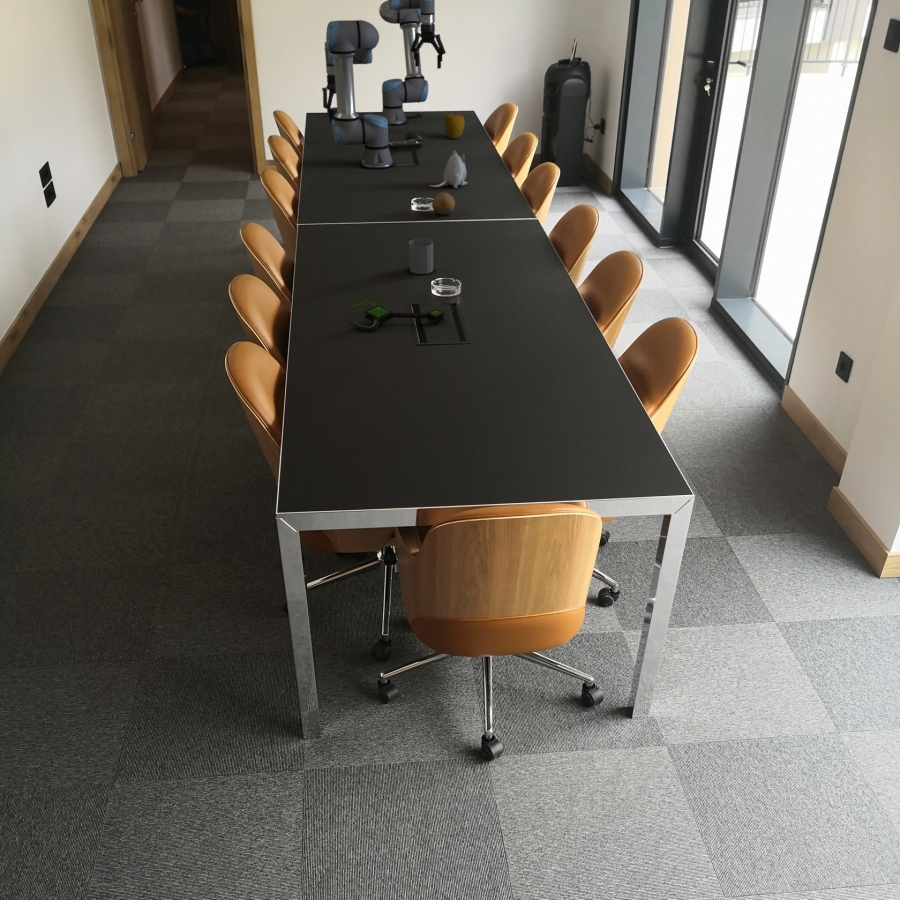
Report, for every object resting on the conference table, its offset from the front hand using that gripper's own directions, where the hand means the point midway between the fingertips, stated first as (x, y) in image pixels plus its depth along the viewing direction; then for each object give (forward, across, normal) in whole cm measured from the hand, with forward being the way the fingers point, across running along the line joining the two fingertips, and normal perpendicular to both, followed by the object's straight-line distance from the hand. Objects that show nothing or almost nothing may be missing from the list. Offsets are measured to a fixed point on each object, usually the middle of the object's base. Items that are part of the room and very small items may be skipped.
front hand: (337, 121), depth 457 cm
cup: (+11, +48, +185) cm, 191 cm away
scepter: (+11, +76, +221) cm, 234 cm away
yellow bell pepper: (+12, -61, +18) cm, 65 cm away
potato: (+12, +10, +132) cm, 133 cm away
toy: (+12, -10, +100) cm, 102 cm away
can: (+1, 0, 0) cm, 1 cm away
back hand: (-23, -53, +3) cm, 58 cm away
